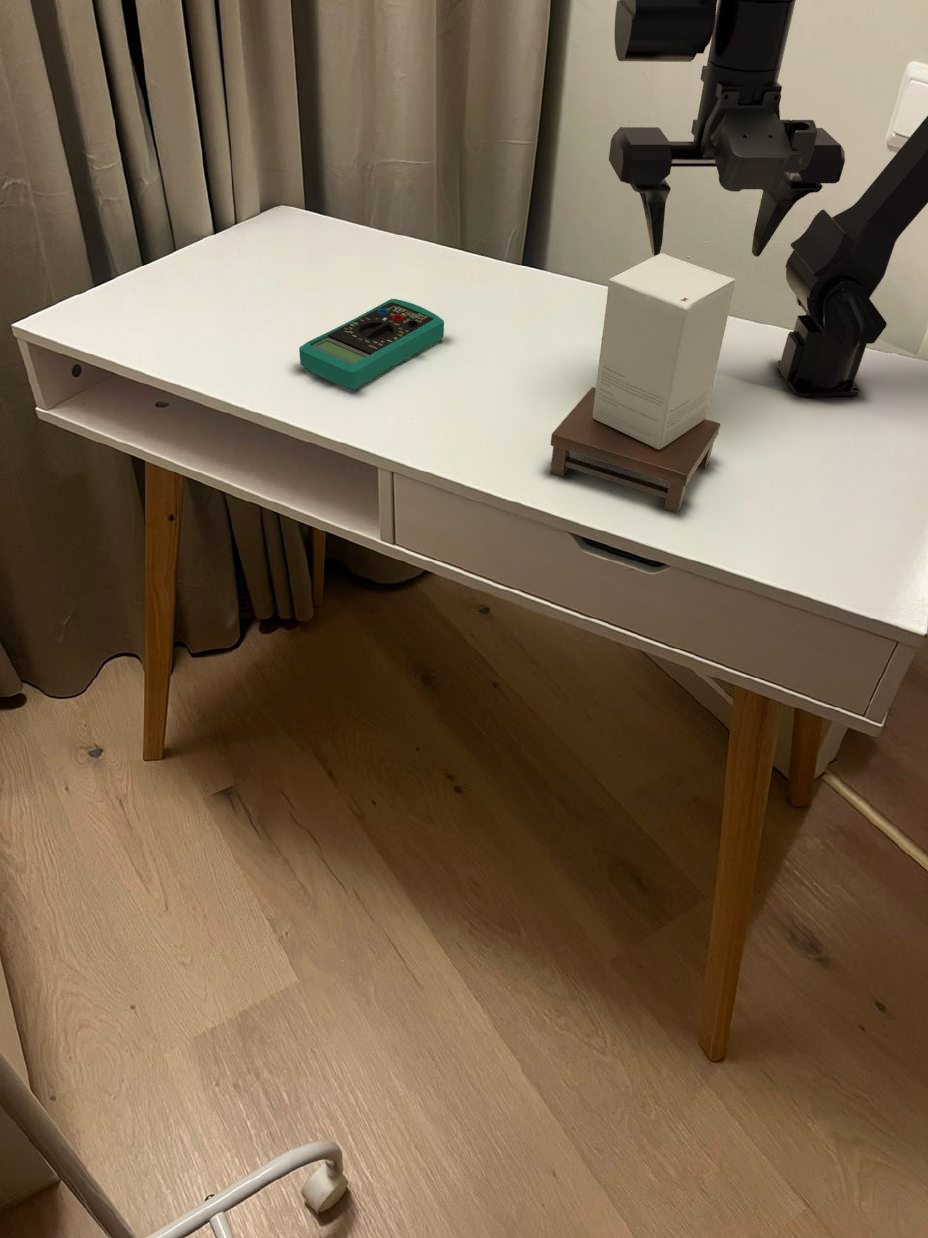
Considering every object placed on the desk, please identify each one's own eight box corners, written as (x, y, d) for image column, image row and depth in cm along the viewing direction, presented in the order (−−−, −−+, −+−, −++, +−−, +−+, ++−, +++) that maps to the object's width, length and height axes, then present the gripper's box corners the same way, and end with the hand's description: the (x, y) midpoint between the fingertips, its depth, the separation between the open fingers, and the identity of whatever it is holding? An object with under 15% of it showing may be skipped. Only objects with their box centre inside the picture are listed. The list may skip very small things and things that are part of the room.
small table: (711, 461, 88) (721, 422, 85) (678, 515, 82) (687, 475, 80) (587, 424, 92) (592, 386, 89) (547, 473, 86) (551, 433, 83)
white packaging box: (708, 419, 86) (740, 278, 77) (658, 452, 82) (686, 308, 73) (639, 387, 89) (662, 249, 81) (588, 418, 85) (606, 276, 77)
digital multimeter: (448, 338, 103) (449, 312, 101) (352, 395, 95) (351, 367, 93) (395, 317, 107) (394, 291, 105) (297, 370, 98) (294, 342, 96)
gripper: (651, 91, 72) (621, 296, 82) (898, 92, 73) (838, 294, 84) (620, 50, 80) (596, 241, 90) (843, 52, 81) (794, 240, 92)
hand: (705, 255), depth 89 cm, fingers open, 9 cm apart
